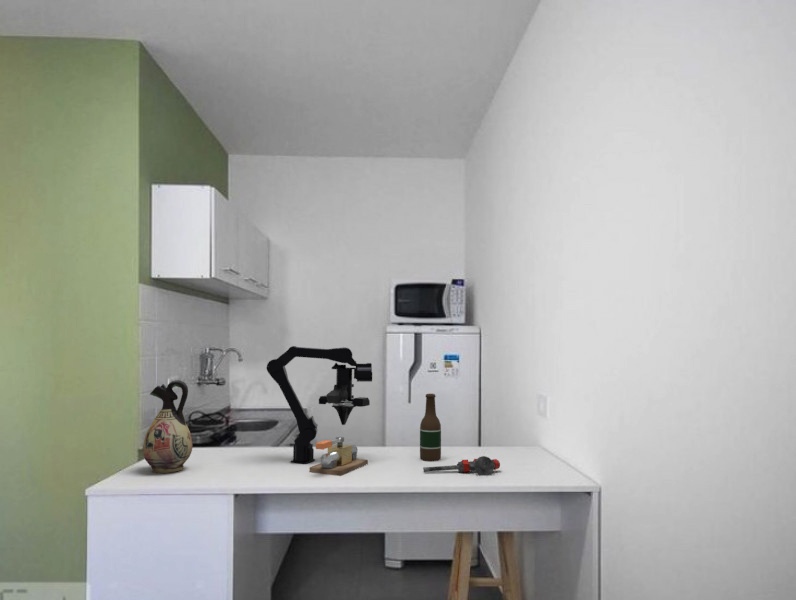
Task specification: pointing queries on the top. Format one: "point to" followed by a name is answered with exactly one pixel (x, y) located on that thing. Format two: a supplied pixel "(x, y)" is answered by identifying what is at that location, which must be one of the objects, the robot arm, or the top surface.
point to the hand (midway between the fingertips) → (343, 424)
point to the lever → (328, 443)
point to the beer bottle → (430, 432)
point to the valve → (471, 466)
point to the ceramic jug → (168, 432)
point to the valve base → (339, 468)
